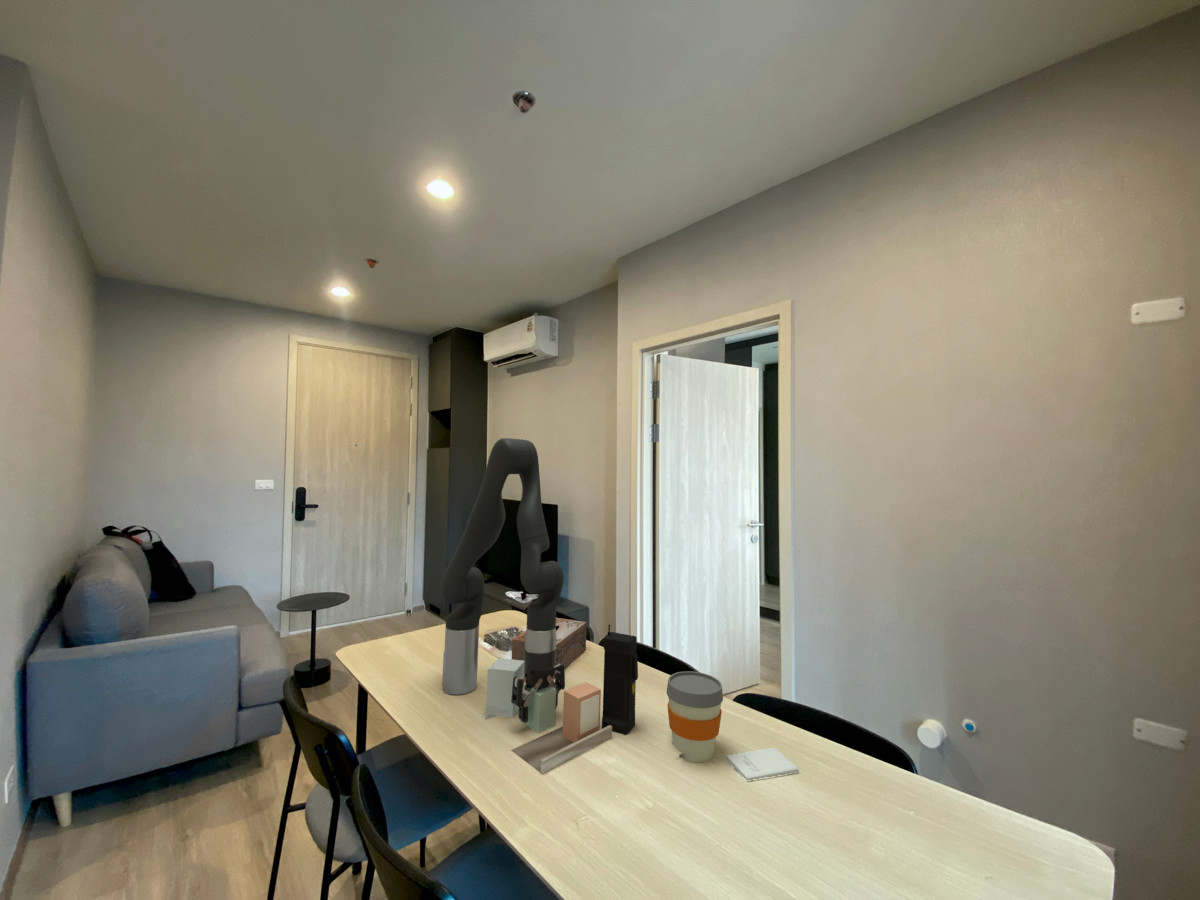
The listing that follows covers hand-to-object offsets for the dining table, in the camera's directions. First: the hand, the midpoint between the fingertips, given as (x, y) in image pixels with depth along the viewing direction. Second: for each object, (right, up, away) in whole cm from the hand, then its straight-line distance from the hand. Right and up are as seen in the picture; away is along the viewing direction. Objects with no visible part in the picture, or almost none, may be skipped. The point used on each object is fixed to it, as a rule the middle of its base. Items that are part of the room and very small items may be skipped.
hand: (538, 715), depth 114 cm
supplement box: (-9, -4, +6) cm, 12 cm away
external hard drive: (+49, -5, -12) cm, 51 cm away
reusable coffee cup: (+36, -4, -7) cm, 37 cm away
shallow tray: (+6, -3, -8) cm, 11 cm away
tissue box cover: (-1, -6, +42) cm, 43 cm away
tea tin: (0, -4, 0) cm, 4 cm away
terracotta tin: (+10, -2, -4) cm, 11 cm away
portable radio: (+20, -4, 0) cm, 20 cm away
